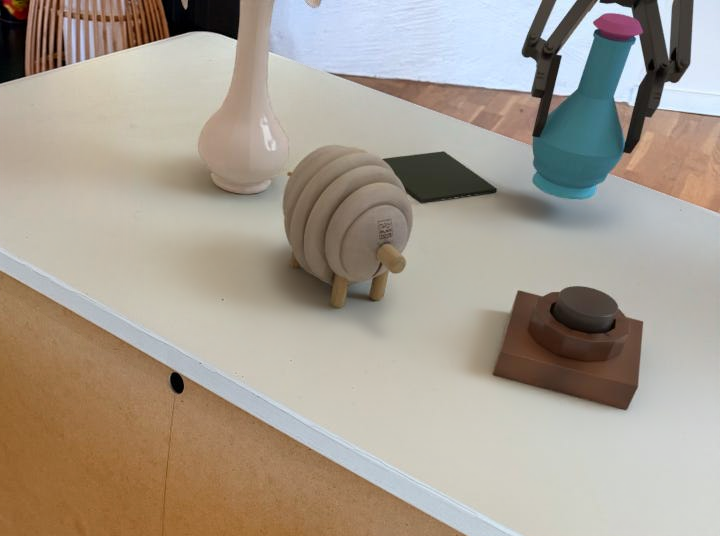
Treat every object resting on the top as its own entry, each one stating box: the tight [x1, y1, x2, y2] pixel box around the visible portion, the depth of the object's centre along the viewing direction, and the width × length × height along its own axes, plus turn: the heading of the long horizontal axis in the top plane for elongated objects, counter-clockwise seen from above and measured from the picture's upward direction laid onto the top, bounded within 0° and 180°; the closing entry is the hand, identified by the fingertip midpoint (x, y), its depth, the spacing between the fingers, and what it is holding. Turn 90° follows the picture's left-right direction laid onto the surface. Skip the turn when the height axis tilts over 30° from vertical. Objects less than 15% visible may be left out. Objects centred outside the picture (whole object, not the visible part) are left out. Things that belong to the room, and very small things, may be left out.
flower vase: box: [181, 0, 322, 195], centre depth 85 cm, size 13×18×25 cm
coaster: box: [382, 150, 498, 204], centre depth 100 cm, size 10×10×1 cm
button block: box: [492, 289, 644, 411], centre depth 77 cm, size 11×11×4 cm
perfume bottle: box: [532, 12, 643, 200], centre depth 91 cm, size 9×9×15 cm
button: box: [552, 285, 619, 334], centre depth 75 cm, size 5×5×2 cm
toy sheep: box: [282, 144, 414, 309], centre depth 79 cm, size 11×17×11 cm, turn 31°
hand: (584, 138), depth 90 cm, fingers closed on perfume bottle, 8 cm apart
